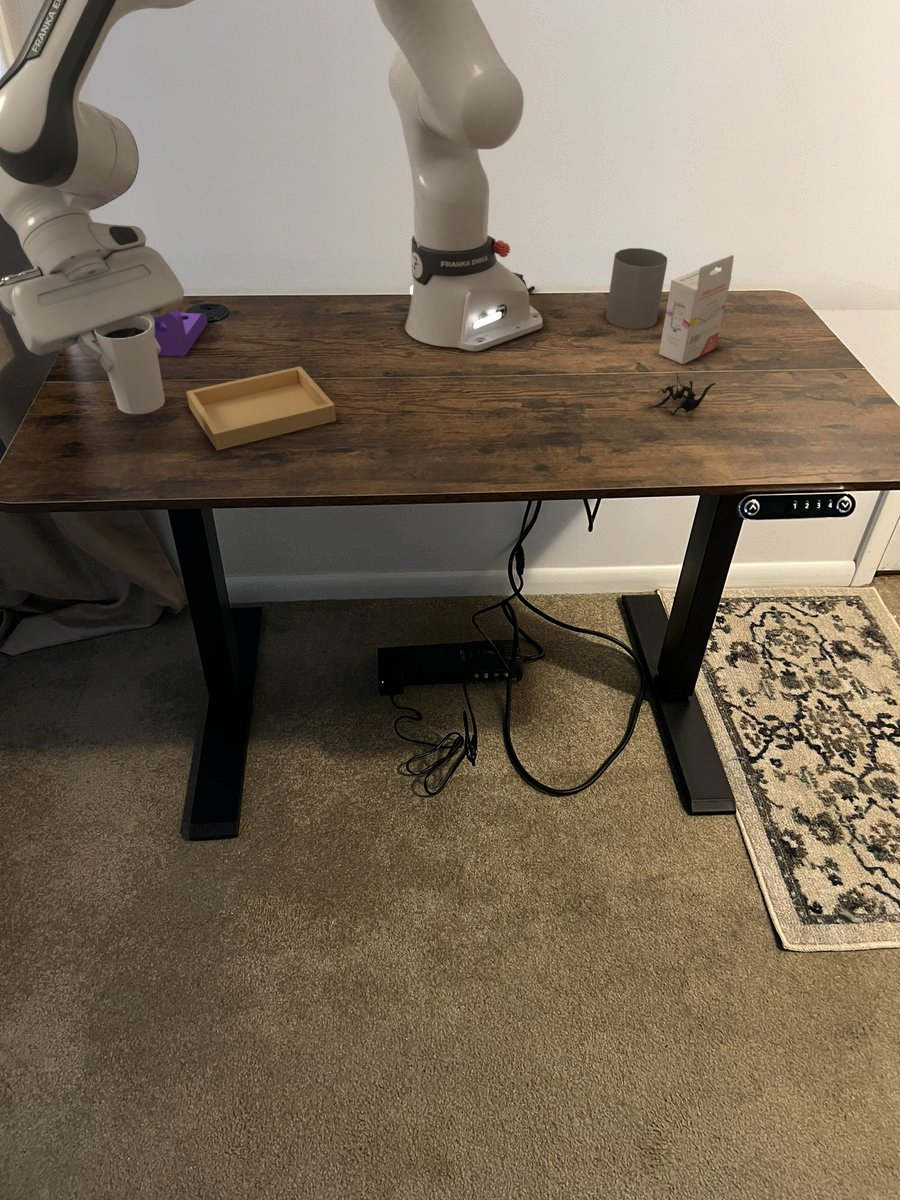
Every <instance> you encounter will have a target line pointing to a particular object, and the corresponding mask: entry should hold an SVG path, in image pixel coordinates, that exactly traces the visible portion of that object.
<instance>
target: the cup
mask: <svg viewBox="0 0 900 1200" xmlns="http://www.w3.org/2000/svg"><path fill="white" fill-rule="evenodd" d="M612 265H613V266H612V271H611V279H610V284H609V285H610V286H609V294H608V299H607V309H606V314H605V319H606V320H607V321H608V322H609V323H610V324H612V325H614V326H616V327H618V328H623V329H629V330H644V329H647V328H652V327H653V326H654V325H655V324H657V321H658V316H659V315H658V314H659V310H660V305H661V300H662V293H663V288H664V282H665V276H666V271H667V266H668V257H667V256H666V255H665V254H664V253H662V252H659V251H656V250H654V249H648V248H642V247H634V248H633V247H629V248H624V249H619V250H618V251H616V252H615V253H614V258H613V264H612Z"/></svg>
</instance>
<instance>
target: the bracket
mask: <svg viewBox="0 0 900 1200" xmlns="http://www.w3.org/2000/svg"><path fill="white" fill-rule="evenodd" d="M153 319H154V320H155V336H154V337H155V339H156V340H157V342H158V344H159V345H160V348H161V351H160V353H159V354H157V356H167V357H186V356H187V354H188V352H189V351H190V350H191V349H192V347H193V345H194V344H195V342H196V341H197V340H198V338H199V337H200V335H201V333H203V331H204V329H205V328H206V327H207V325H208V317H207V313H198V312H197V313H194V312H180V311H179V310H178V309H177V310H176V311H174V312H171V313H168V314H165V315H162V316H159V317H156V318H153Z"/></svg>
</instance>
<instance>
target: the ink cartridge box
mask: <svg viewBox="0 0 900 1200" xmlns="http://www.w3.org/2000/svg"><path fill="white" fill-rule="evenodd" d="M734 257H735V256H734V254H731V255H728V256H726V257H723V258H720V259H718V260H715V261H713V262H710V263H709V264H705V265H702V266H701V267H700V268H699V269H697V270H694V271H691V272H689V273H687V274H684V275H681V276H678V277H676V278H673V279H671V280H670V286H669V293H668V298H667V305H666V310H665V316H664V321H663V328H662V332H661V333H662V334H661V340H660V344H659V345H660V346H659V349H658V350H659V351H658V355H659V356H662V357H665V358H666V359H669V360H671V361H674V362H677V363H678V364H680V365H685V364H687V363H689V362H691V361H693V360H696V359H697V358H699V357H702V356H703V355H705V354H708V353H710V352H712V351H714V350H715V349H716V347H717V343H718V338H719V333H720V328H721V324H722V320H723V316H724V311H725V307H726V303H727V299H728V298H727V297H728V294H729V289H730V284H731V280H732V272H733V266H734ZM716 268H717V269H719V268H721V269H720V271H719V270H716Z"/></svg>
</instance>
